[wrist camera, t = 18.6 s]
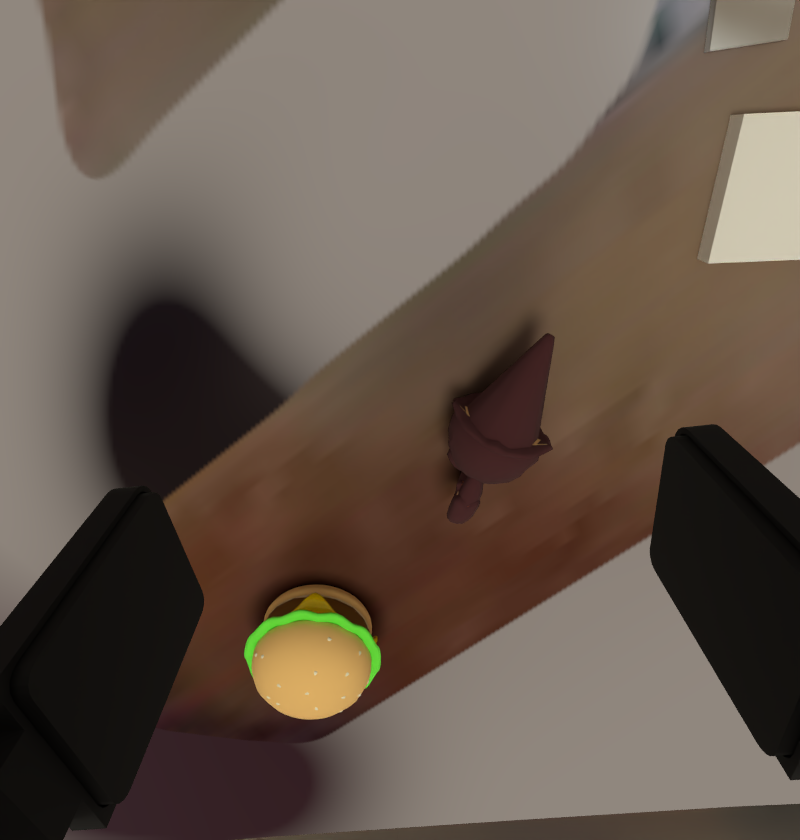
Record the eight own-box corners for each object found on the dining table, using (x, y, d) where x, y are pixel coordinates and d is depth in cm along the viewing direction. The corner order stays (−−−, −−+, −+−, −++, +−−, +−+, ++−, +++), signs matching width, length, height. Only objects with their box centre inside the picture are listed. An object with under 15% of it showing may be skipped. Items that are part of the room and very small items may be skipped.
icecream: (489, 328, 29) (401, 511, 37) (612, 382, 28) (496, 556, 36) (500, 295, 35) (423, 460, 43) (602, 340, 34) (505, 497, 42)
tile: (744, 114, 28) (708, 263, 32) (893, 106, 28) (838, 257, 32) (726, 115, 30) (693, 257, 33) (867, 108, 29) (818, 252, 33)
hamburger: (318, 550, 45) (303, 634, 38) (407, 620, 50) (409, 707, 42) (230, 613, 49) (200, 700, 41) (320, 672, 53) (307, 761, 46)
